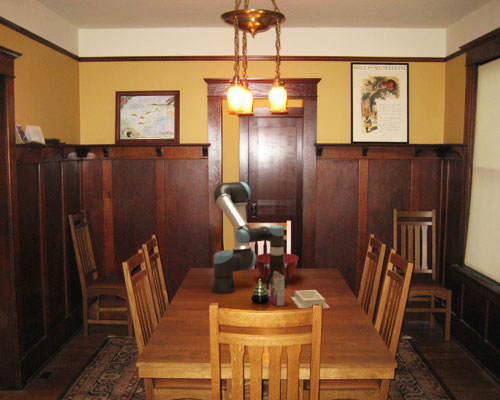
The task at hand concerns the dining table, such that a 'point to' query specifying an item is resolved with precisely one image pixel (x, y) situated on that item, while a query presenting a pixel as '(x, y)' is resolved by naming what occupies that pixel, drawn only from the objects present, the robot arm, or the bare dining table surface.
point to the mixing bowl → (265, 259)
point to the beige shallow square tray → (308, 299)
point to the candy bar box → (277, 289)
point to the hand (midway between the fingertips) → (276, 294)
